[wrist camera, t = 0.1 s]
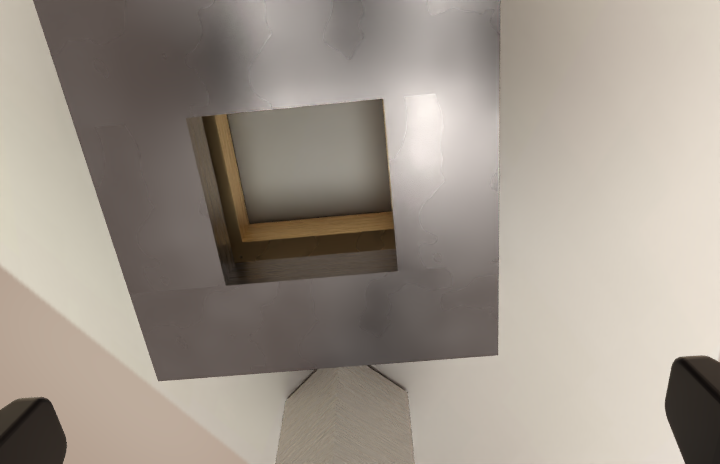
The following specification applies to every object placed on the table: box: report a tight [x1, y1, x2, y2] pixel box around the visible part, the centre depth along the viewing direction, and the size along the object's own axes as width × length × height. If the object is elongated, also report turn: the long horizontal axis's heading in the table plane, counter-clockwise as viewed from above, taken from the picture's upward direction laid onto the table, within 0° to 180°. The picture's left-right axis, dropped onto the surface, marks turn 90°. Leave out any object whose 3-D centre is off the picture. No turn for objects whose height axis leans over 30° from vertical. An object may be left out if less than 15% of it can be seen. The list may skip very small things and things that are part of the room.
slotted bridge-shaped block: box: [33, 0, 500, 381], centre depth 20 cm, size 13×12×4 cm
